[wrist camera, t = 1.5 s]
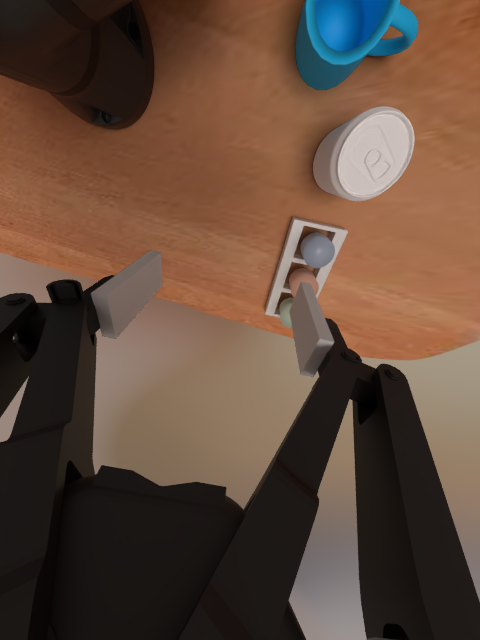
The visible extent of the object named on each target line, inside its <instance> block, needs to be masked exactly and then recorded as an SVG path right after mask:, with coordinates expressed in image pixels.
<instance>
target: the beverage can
mask: <svg viewBox="0 0 480 640" xmlns="http://www.w3.org/2000/svg"><path fill="white" fill-rule="evenodd" d="M413 148H414V131H413V127H412V125H411V123H410V121H409V120H408V118H407V117H406V116H405V115H404V114H403V113H402V112H401V111H399V110H397V109H395V108H392V107H385V106H383V107H376V108H372V109H369V110H367V111H365V112H363V113H361V114H360V115H358V116H356V117H354V118H353V119H351V120H349V121H348V122H346V123H344V124H342V125H341V126H339V127H337V128H336V129H334V130H333V131H331V132H330V133H329V134H328V135H327V136H326V137H325V138H324V139H323V140H322V142H321V143H320V145H319V147H318V149H317V151H316V154H315V157H314V161H313V175H314V179H315V181H316V183H317V185H318V186H319V187H320V188H321V189H322V190H323V191H325V192H327V193H330V194H333V195H336V196H339V197H341V198H344V199H347V200H351V201H364V200H368V199H371V198H374V197H376V196H378V195H379V194H381V193H383V192H384V191H385V190H387V189H388V188H389V187H391V186H392V185H393V184H394V183H395V182H396V181H397V180H398V179H399V177H400V176H401V175H402V174H403V172H404V171H405V169H406V167H407V165H408V163H409V161H410V159H411V156H412V152H413Z"/></svg>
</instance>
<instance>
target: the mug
mask: <svg viewBox="0 0 480 640" xmlns="http://www.w3.org/2000/svg"><path fill="white" fill-rule="evenodd" d="M399 2H400V0H305V1H304V5H303V9H302V14H301V18H300V22H299V26H298V30H297V37H296V46H295V53H296V64H297V67H298V70H299V72H300V75H301V77H302V78H303V80H304V81H305V82H306V83H307V85H309V86H311V87H312V88H314V89H316V90H328V89H330V88H333V87H335V86H337V85H339V84H340V83H341V82H342V81H343V80H345V79H346V78H347V77H348V76H349V75H350V74H351V72H352V71H353V70H354V69H355V68H356V67H357V66H358V65H359V64H360V62H361V61H362V60H363V59H364V58H365V57H366V56H367V55H369V56H389V55H393V54H397V53H400V52H402V51H404V50H405V49H407V48H408V47H409V46H410V45H411V44H412V42H413V41H414V39H415V38H416V36H417V33H418V20H417V18H416V17H415V15H414V14H413V12H412V11H410V10H409V9H408V8H406V7H405V6H403V5H401V4H399ZM389 25H390V26H392V27H394V28H396V29H397V30H399V31H400V32H402V34H403V35H404V36H401V37H397V38H393V39H381V37H382V36H383V35H384V33H385V32H386V31H387V29H388V27H389Z"/></svg>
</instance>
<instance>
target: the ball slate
mask: <svg viewBox="0 0 480 640" xmlns="http://www.w3.org/2000/svg"><path fill="white" fill-rule="evenodd" d="M300 250H301V254H302V256H303V258H304V260H305V262H306V264H307V265H308V266H310V267H312V268H321V267H324V266H326V265H327V264H329V263H330V262H331V261H332V259H333V257H334V255H335V247H334V245H333V243H332V242H331V241H330V240H329V239H328V238H327V237H326V236H325V235H324V234H323V233H320V232H314V233H311V234H309V235H307V236H306V237H305V238H304V239H303V241H302V243H301V247H300Z"/></svg>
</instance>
